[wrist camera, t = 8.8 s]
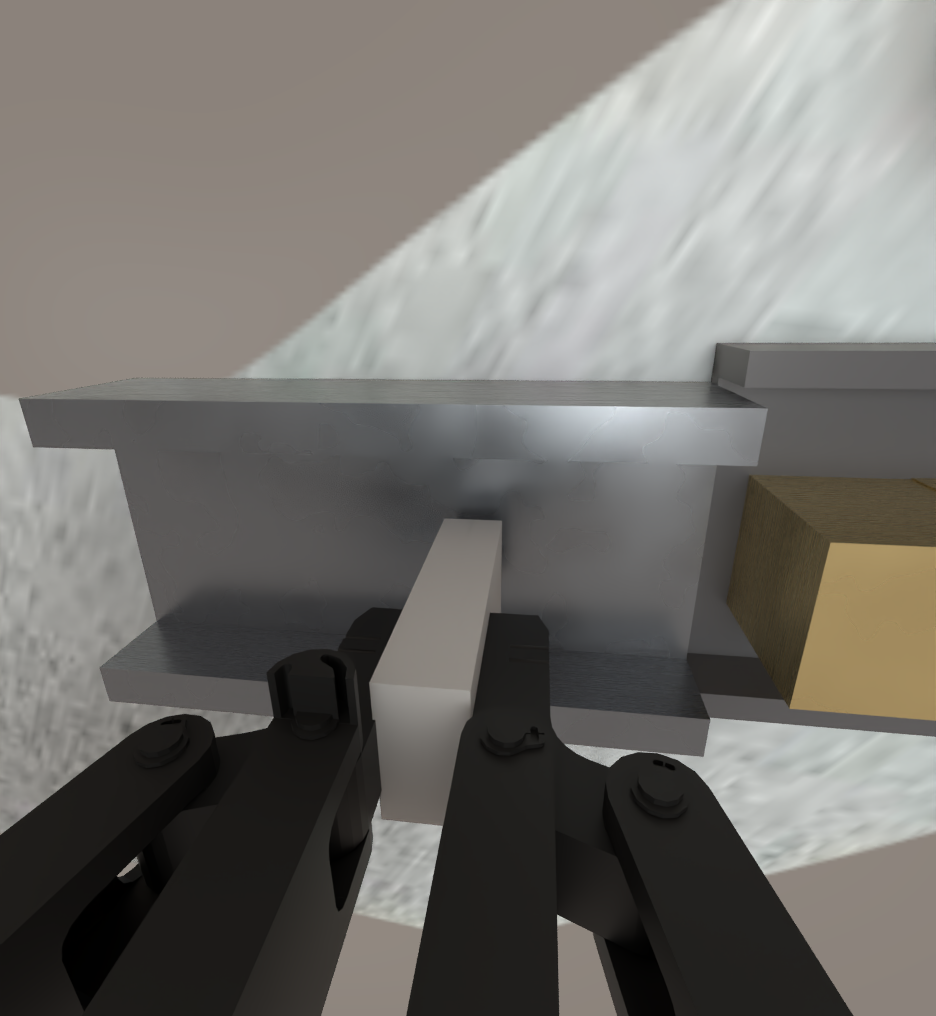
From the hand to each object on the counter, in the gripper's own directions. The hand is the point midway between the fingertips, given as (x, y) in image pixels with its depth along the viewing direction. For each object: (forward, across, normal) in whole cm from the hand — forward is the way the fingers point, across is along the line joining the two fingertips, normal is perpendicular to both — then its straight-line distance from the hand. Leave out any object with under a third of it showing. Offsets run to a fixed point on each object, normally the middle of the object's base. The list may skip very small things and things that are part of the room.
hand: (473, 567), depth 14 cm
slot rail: (+3, -2, 0) cm, 4 cm away
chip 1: (+2, +9, 0) cm, 10 cm away
